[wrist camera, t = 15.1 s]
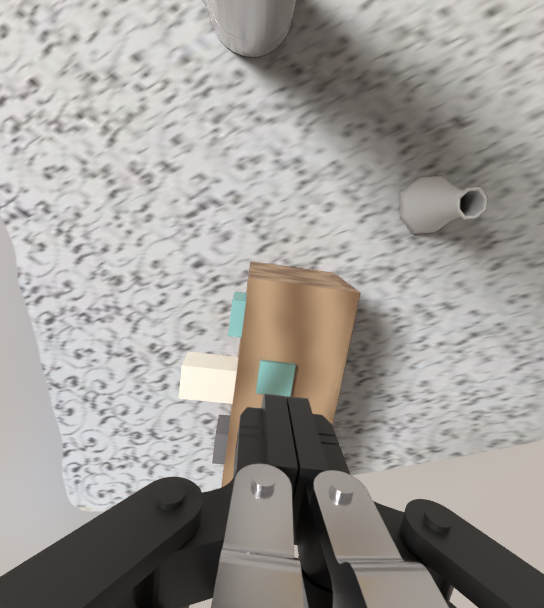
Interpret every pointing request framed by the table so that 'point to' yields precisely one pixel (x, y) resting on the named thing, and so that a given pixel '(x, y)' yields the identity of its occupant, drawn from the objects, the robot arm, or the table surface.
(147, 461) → the table surface
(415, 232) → the flask
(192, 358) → the key ivory
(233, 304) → the key teal
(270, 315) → the block
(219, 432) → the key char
